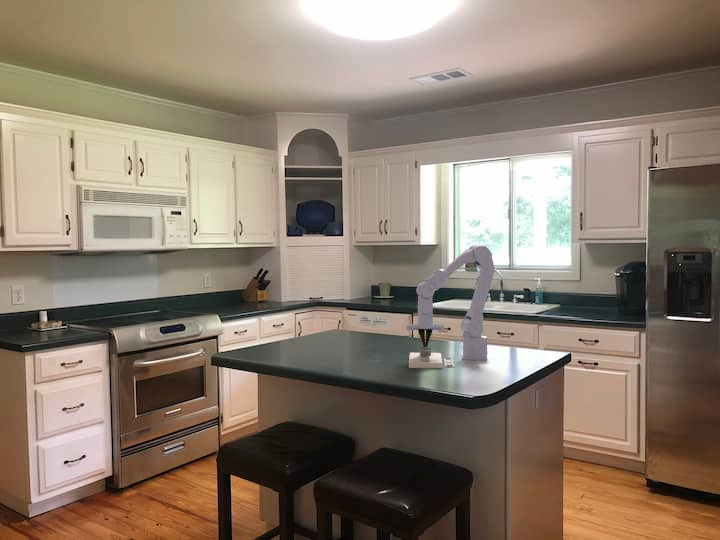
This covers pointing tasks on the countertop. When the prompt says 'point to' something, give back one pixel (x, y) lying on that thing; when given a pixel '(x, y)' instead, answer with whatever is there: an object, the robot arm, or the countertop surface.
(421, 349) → the button
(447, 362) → the card
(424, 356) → the button
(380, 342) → the countertop surface
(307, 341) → the countertop surface
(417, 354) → the board
